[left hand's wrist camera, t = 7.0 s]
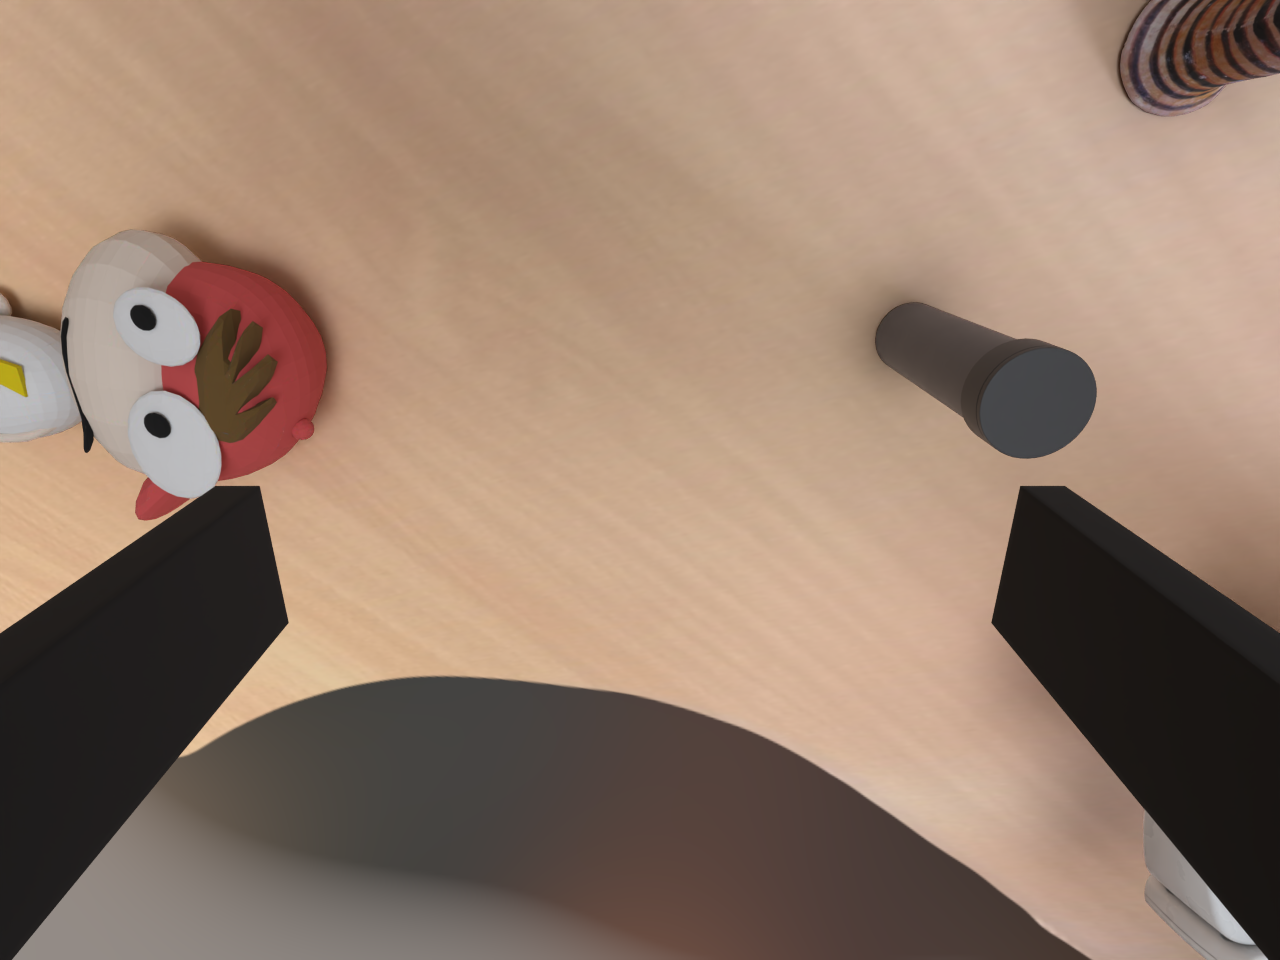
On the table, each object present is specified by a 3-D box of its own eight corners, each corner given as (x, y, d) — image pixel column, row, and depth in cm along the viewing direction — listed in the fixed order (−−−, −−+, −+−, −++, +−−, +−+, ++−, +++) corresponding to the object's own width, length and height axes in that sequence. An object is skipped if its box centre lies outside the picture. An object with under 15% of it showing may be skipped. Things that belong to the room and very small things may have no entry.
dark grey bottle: (881, 378, 48) (988, 460, 33) (869, 313, 46) (977, 369, 32) (947, 359, 47) (1087, 433, 33) (938, 293, 46) (1080, 340, 31)
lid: (967, 456, 35) (986, 471, 33) (953, 356, 33) (973, 366, 31) (1074, 427, 34) (1100, 441, 32) (1066, 324, 32) (1093, 332, 31)
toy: (-325, 152, 36) (253, 285, 35) (-108, 149, 45) (355, 254, 44) (-200, 478, 44) (269, 593, 43) (-38, 419, 53) (352, 513, 52)
